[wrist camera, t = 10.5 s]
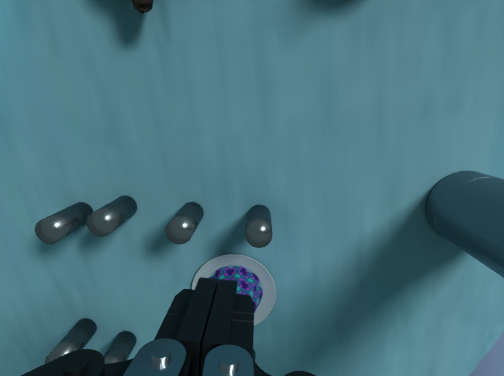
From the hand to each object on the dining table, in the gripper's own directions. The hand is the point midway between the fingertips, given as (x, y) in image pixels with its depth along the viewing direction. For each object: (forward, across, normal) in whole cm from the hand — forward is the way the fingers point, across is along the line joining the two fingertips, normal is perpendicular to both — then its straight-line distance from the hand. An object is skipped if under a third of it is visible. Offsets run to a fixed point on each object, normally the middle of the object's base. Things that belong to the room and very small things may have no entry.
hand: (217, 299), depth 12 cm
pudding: (+30, +1, +18) cm, 34 cm away
